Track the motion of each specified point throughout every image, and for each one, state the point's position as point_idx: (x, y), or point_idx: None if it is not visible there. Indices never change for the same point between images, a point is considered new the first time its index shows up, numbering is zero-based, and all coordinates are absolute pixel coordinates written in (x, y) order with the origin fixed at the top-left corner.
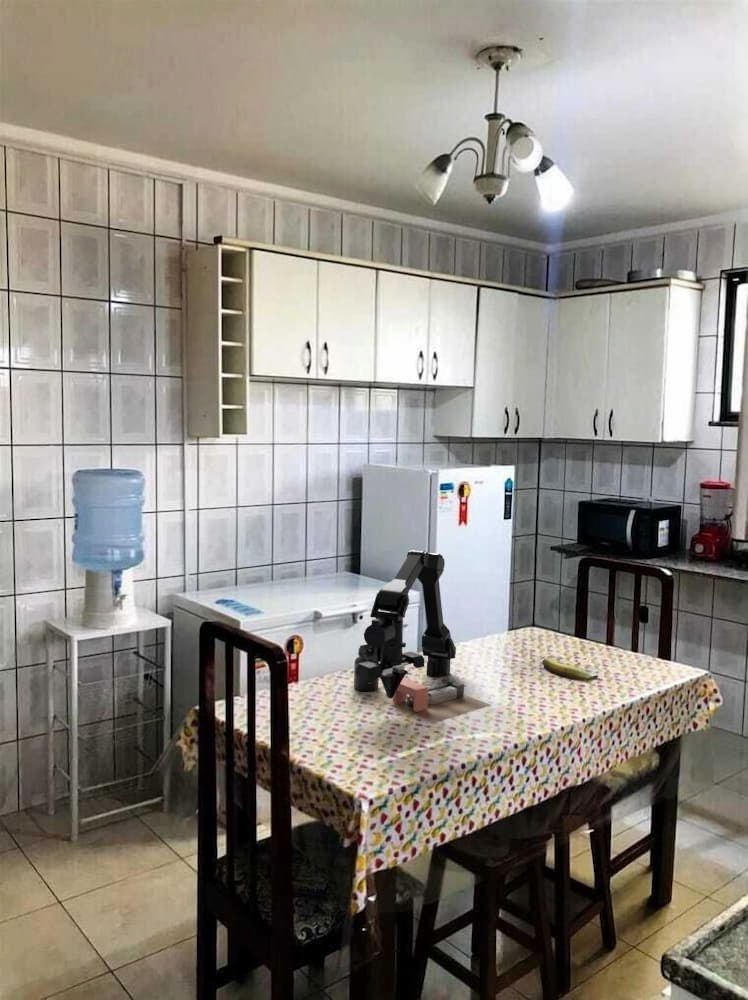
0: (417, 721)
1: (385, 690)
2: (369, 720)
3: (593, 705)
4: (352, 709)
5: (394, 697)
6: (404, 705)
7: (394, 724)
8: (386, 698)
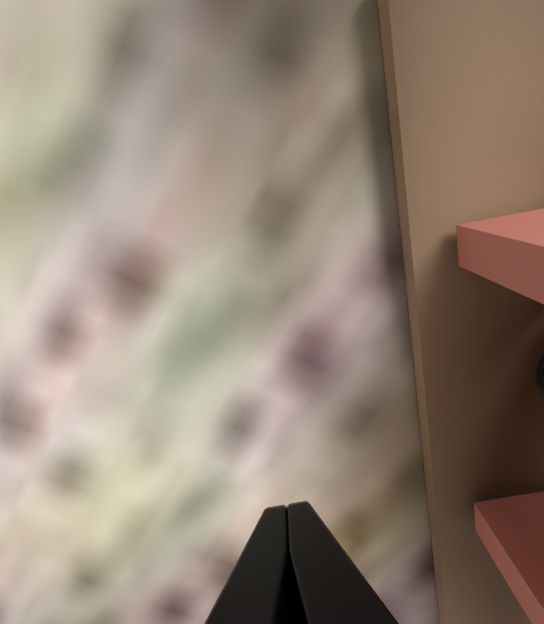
0: (404, 581)
1: (226, 590)
2: (67, 428)
3: None
4: (10, 105)
5: (486, 262)
6: (510, 331)
7: (218, 564)
8: (486, 43)
